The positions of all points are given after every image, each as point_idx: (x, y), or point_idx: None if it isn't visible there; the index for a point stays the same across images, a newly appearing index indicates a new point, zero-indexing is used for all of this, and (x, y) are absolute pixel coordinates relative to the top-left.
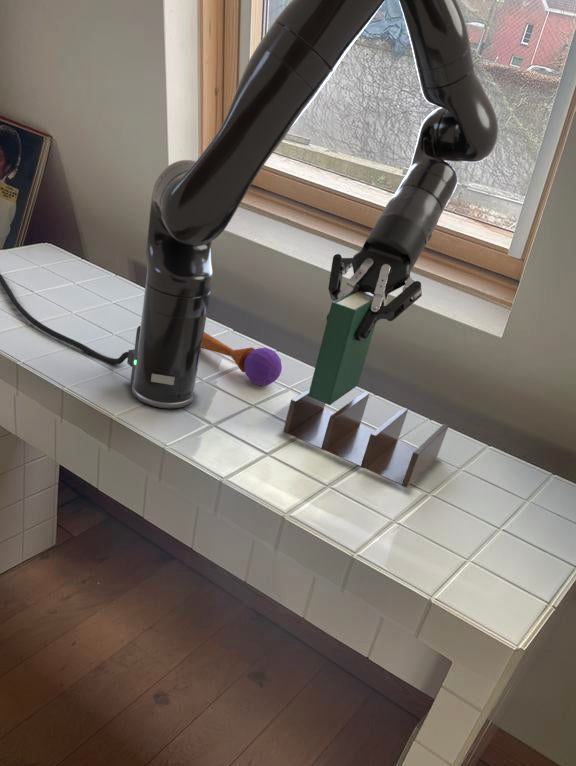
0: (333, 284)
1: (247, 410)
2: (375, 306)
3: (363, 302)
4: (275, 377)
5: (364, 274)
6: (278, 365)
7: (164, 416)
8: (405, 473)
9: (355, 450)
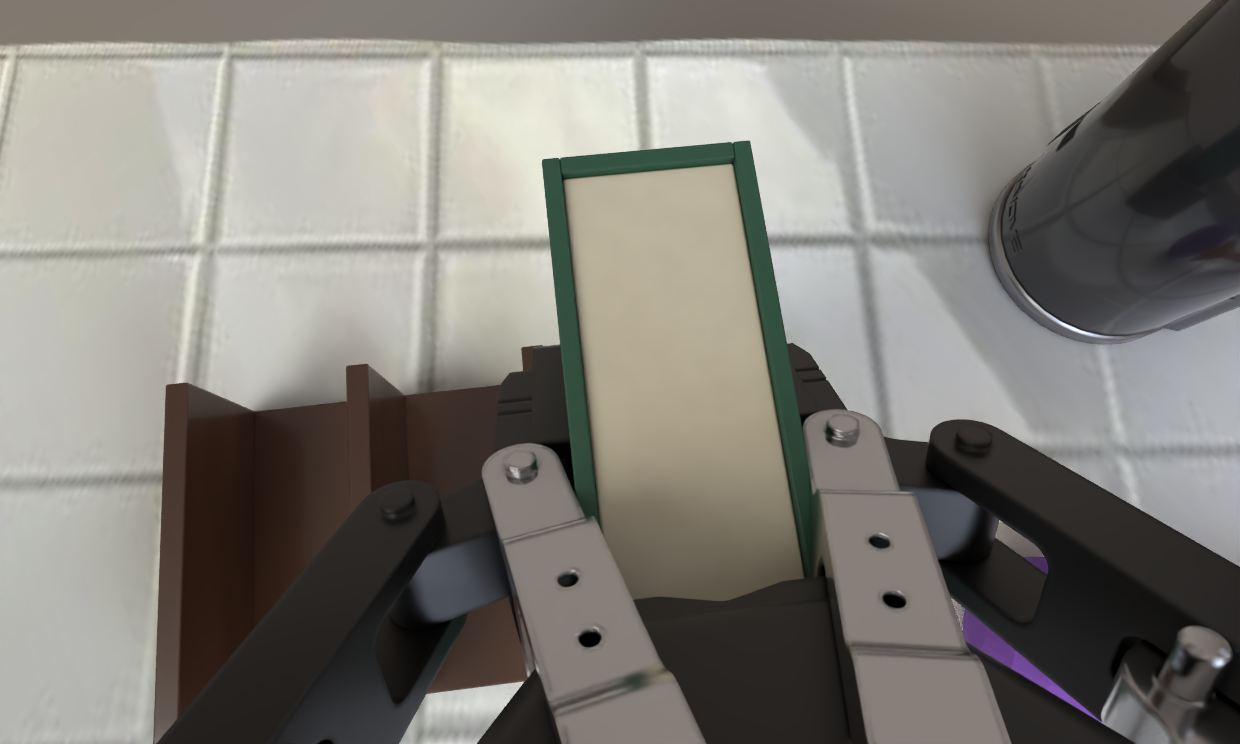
0: (999, 458)
1: (875, 411)
2: (518, 463)
3: (621, 417)
4: (965, 628)
5: (839, 613)
6: (999, 647)
7: (972, 160)
8: (274, 488)
9: (468, 471)
